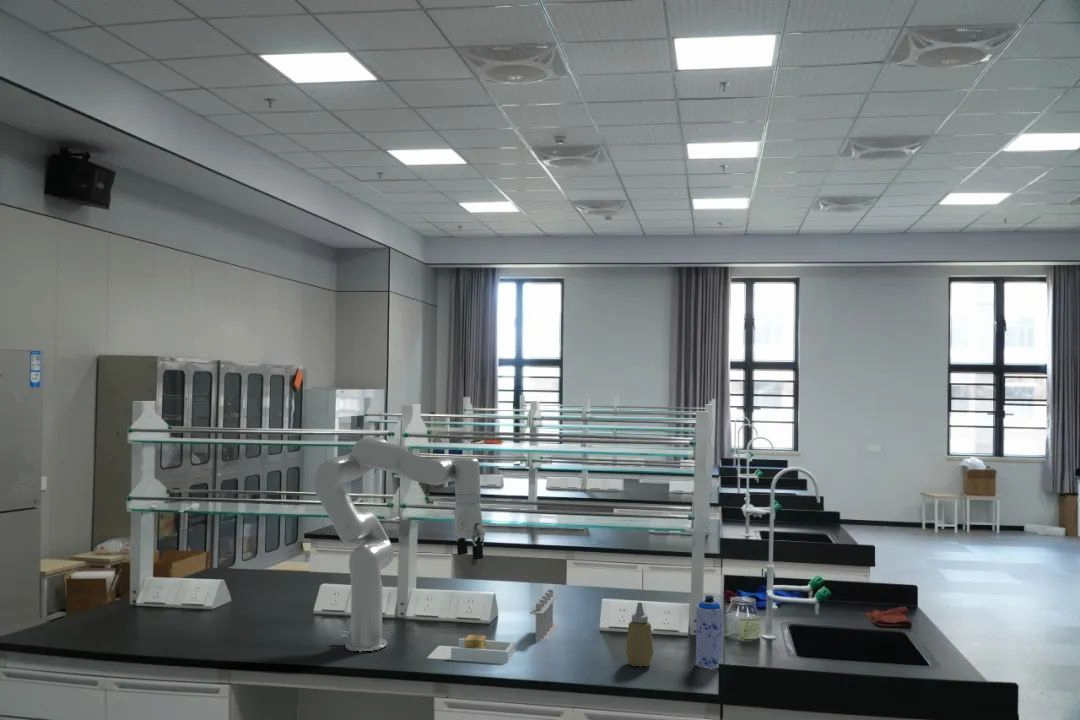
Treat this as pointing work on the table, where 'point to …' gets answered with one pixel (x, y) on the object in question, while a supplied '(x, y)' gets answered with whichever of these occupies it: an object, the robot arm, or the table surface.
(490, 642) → the channel
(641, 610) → the squeeze bottle
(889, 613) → the table surface
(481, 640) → the block
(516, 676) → the table surface
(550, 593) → the test tube rack
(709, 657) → the aerosol can
